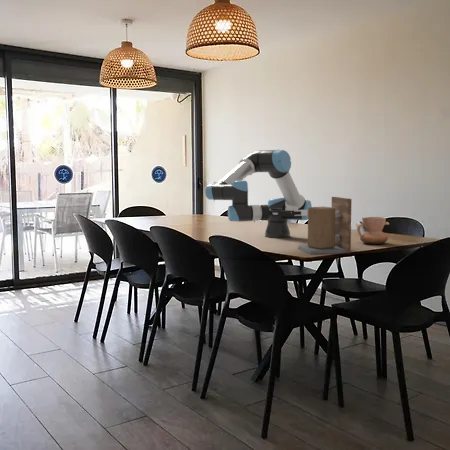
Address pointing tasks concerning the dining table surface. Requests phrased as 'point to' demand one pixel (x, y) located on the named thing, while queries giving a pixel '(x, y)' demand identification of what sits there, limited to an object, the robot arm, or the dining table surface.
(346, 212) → the cabinet side
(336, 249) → the plate
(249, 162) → the robot arm
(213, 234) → the dining table surface
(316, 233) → the wooden block
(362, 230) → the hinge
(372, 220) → the ceramic jug
